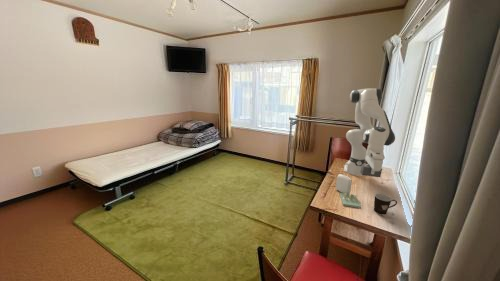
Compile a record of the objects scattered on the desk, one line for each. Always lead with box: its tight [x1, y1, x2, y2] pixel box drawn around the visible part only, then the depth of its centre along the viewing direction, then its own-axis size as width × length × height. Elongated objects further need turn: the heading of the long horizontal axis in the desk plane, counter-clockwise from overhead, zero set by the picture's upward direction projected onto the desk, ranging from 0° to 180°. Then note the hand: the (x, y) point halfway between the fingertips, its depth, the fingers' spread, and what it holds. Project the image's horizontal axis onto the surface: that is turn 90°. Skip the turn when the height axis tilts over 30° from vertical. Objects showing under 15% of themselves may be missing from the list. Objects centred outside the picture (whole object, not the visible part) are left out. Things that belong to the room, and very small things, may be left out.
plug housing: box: [360, 163, 383, 178], centre depth 131 cm, size 5×11×6 cm, turn 75°
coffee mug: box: [373, 192, 398, 216], centre depth 117 cm, size 12×9×10 cm
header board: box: [339, 192, 362, 209], centre depth 130 cm, size 14×10×5 cm
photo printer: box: [335, 174, 353, 194], centre depth 140 cm, size 10×4×12 cm, turn 29°
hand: (370, 171), depth 131 cm, fingers closed on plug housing, 5 cm apart
